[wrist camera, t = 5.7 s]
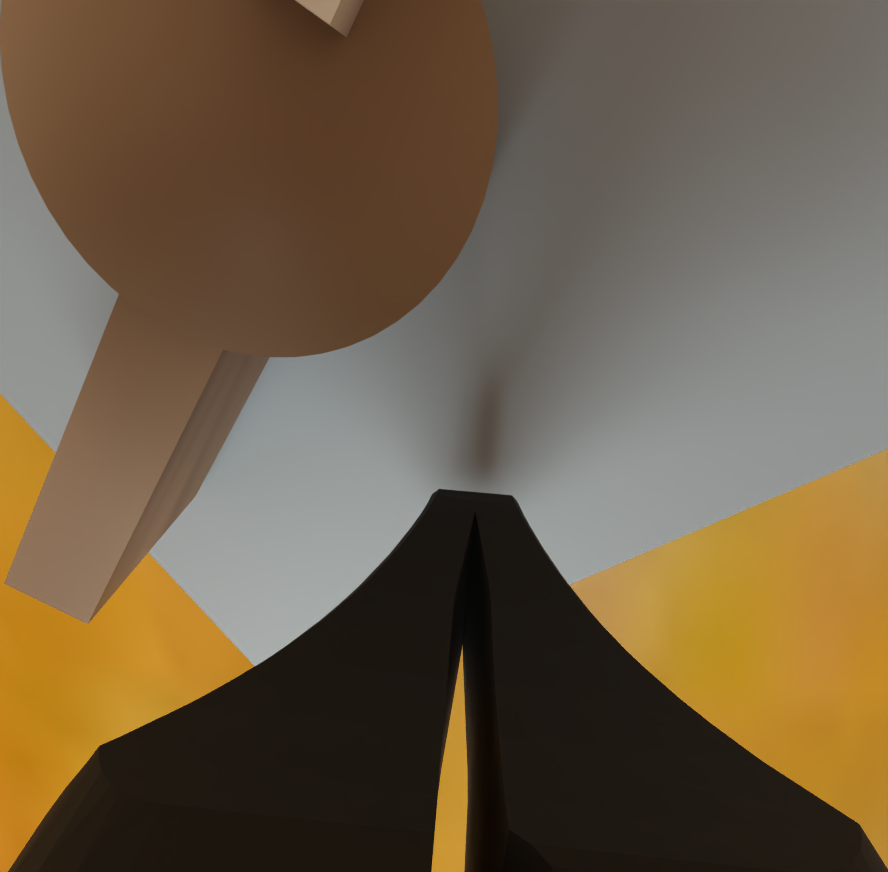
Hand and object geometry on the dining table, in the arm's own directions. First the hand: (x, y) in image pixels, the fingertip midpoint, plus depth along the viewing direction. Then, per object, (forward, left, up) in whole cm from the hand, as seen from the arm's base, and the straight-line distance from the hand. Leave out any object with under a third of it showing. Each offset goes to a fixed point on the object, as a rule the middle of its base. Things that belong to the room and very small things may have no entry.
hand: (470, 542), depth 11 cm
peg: (-1, -6, -1) cm, 6 cm away
